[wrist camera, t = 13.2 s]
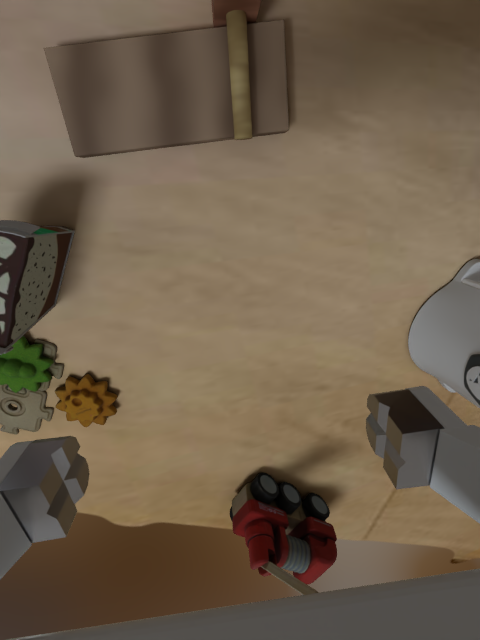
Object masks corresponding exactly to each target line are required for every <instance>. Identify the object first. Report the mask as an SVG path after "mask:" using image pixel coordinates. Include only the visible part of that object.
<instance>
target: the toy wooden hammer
mask: <svg viewBox="0 0 480 640" xmlns="http://www.w3.org/2000/svg"><path fill="white" fill-rule="evenodd" d="M260 3H261V0H212V12H213V24H214V28H218V27H226V26H227V37H228V52H229V66H230V80H231V95H232V109H233V124H234V138H235V140H245V139H251V138H252V122H251V102H250V82H249V62H248V41H247V24H251V23H256V19H257V15H258V11H259V7H260Z"/></svg>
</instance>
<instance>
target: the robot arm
mask: <svg viewBox="0 0 480 640" xmlns="http://www.w3.org/2000/svg"><path fill="white" fill-rule="evenodd" d="M408 345H409V352H410V355H411V357H412V359H413V361H414V363H415V364H416V365H417V366H418V367H419V368H420V369H421V370H423V371H425V372H426V373H428V374H430V375H432V376H434V377H436V378H437V379H438V380H439V382H440V383H441V385H442V386H443V387H444V388H446V389H447V390H449V391H450V392H457V393H459V394H460V395H461V396H463V397H464V398H466V399H467V400H469V401H470V402H471V403H473V404H474V405H476V406H477V407H479V408H480V259H473V260H470V261H469V262H467V263H466V264H465V265H464V266H463V268H462V269H461V270H460V271H459V273H458V274H457V275H456V277H455V278H454V279H453V280H452V281H451V282H450V283H449V284H448V285H446V286H445V287H444V288H442V289H441V290H439V291H438V292H437V293H435V294H434V295H433V296H432V297H431V298H430V299H429V300H428V301H427V302H426V303H425V304H424V305H423V306H422V308H421V309H420V310H419V312H418V313H417V315H416V317H415V319H414V321H413V323H412V326H411V329H410V333H409V340H408ZM367 407H368V409H369V410H370V412H371V414H370V415H369V416H368V417H367V419H366V431H367V436H368V440H369V442H370V445H371V447H372V449H373V451H374V452H375V454H377V455H378V456H380V457H382V458H383V459H384V463H383V468H384V470H385V471H386V473H387V475H388V476H389V478H390V480H391V481H392V483H393V485H394V486H395V488H396V489H402V488H411V487H419V486H428V485H430V488H432V489H433V490H435V491H436V492H437V493H439V494H440V495H441V496H443V497H444V498H445V499H447V500H448V501H450V502H451V503H452V504H454V505H455V506H456V507H458V508H459V509H461V510H462V511H463V512H465V513H466V514H467V515H469V516H470V517H472V518H473V519H474V520H476V521H477V522H478V523H480V428H479V427H477V426H475V425H470V426H467V425H466V424H465V423H464V422H463V421H462V420H461V419H460V418H459V417H458V416H457V415H456V414H455V413H454V412H453V411H452V410H451V409H449V408H448V407H447V406H446V405H445V404H444V403H443V402H442V401H441V400H440V399H439V398H438V397H437V396H436V395H435V394H434V393H433V392H432V391H431V390H430V389H429V388H427V387H425V386H419V387H413V388H407V389H404V390H396V391H389V392H382V393H376V394H369V396H368V399H367ZM79 448H80V445H79V443H78V441H77V439H76V437H73V436H66V437H58V438H49V439H41V440H35V441H26V442H18V443H15V444H13V445H12V446H10V447H9V449H8V450H7V451H6V452H5V454H4V455H3V456H2V458H1V459H0V579H1V578H2V577H3V576H4V575H5V574H6V572H7V571H8V570H9V569H10V568H11V567H12V566H13V565H14V564H15V563H16V561H17V560H18V559H19V558H20V557H21V556H22V555H23V554H24V553H25V552H26V551H27V550H28V548H29V547H30V546H31V545H32V544H31V543H34V542H39V541H45V540H51V539H57V538H62V537H66V536H67V534H68V532H69V529H70V527H71V524H72V522H73V520H74V518H75V515H76V513H77V509H76V506H75V503H76V502H77V501H78V500H79V499H80V498H81V497H83V496H84V494H85V491H86V489H87V486H88V480H89V468H88V464H87V461H86V459H85V458H84V457H82V456H81V455H79V454H78V453H77V452H78V450H79ZM7 640H480V569H474V570H468V571H461V572H454V573H448V574H441V575H434V576H428V577H421V578H414V579H407V580H401V581H395V582H387V583H381V584H374V585H367V586H361V587H355V588H348V589H341V590H334V591H327V592H321V593H314V594H307V595H301V596H294V597H287V598H281V599H274V600H268V601H260V602H254V603H248V604H240V605H234V606H227V607H221V608H214V609H207V610H201V611H194V612H187V613H181V614H175V615H168V616H161V617H155V618H148V619H141V620H135V621H128V622H122V623H114V624H108V625H101V626H95V627H88V628H81V629H75V630H68V631H61V632H54V633H48V634H41V635H34V636H28V637H21V638H15V639H7Z"/></svg>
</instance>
